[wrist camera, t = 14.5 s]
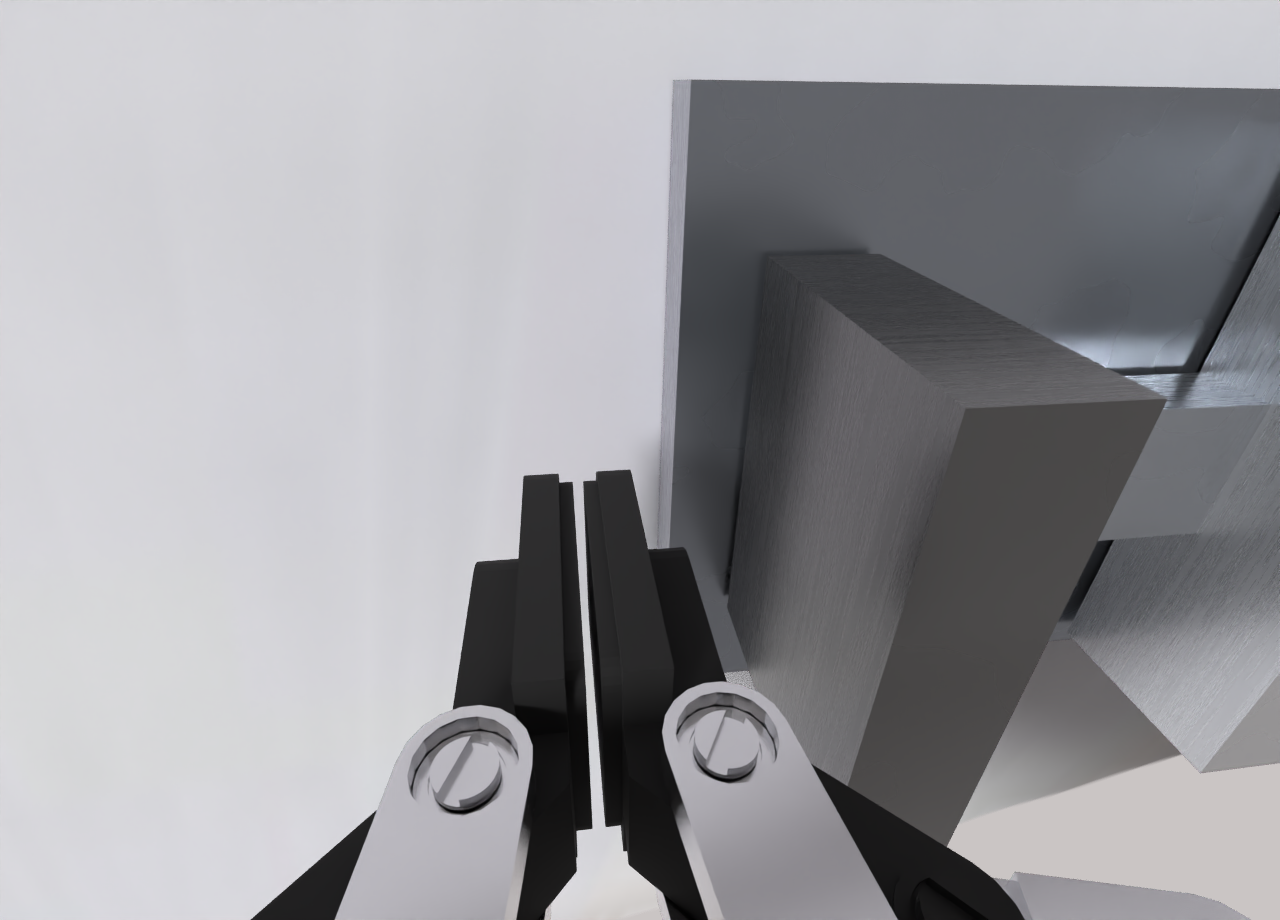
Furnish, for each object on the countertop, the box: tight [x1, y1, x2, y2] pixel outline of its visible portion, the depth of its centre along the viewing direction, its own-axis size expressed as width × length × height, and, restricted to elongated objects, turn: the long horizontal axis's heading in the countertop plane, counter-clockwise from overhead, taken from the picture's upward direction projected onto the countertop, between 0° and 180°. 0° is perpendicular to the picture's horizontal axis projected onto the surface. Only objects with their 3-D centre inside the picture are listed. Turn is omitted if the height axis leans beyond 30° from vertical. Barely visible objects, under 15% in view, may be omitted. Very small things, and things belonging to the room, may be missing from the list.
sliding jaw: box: [727, 216, 1280, 847], centre depth 11 cm, size 12×12×6 cm
